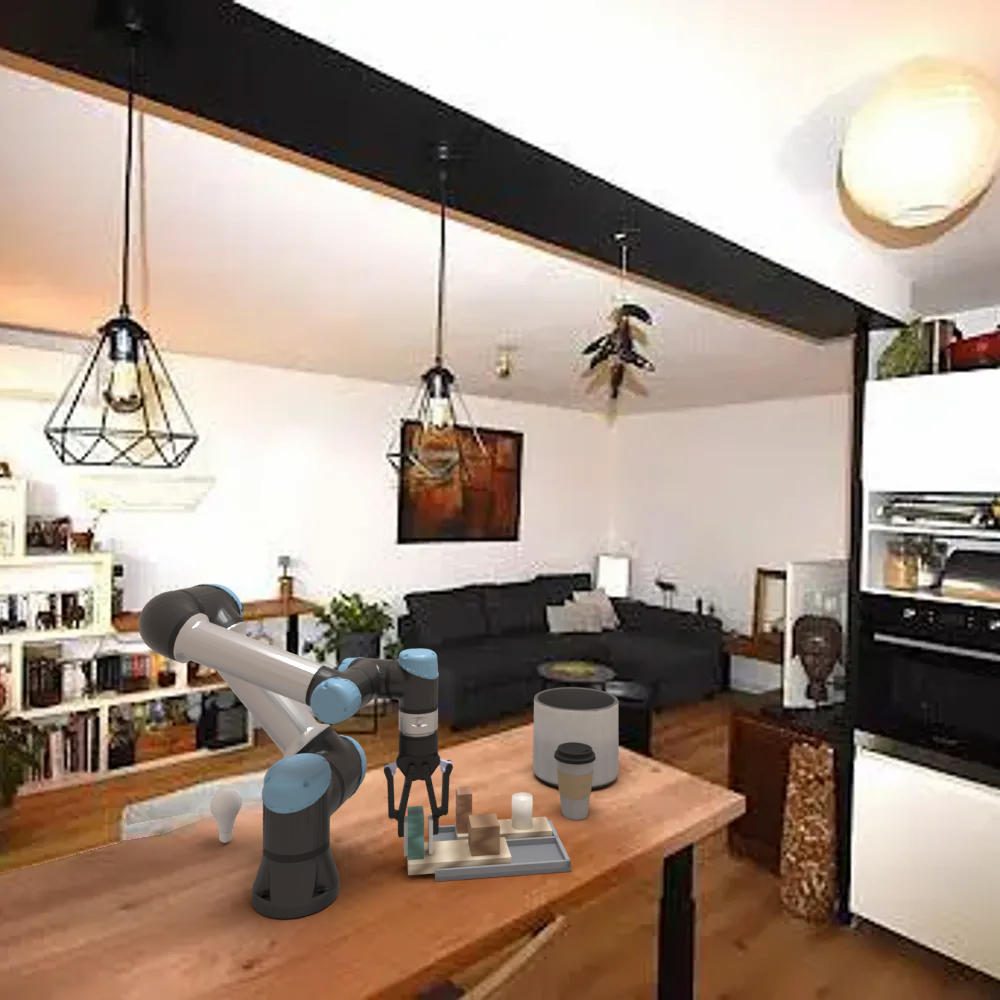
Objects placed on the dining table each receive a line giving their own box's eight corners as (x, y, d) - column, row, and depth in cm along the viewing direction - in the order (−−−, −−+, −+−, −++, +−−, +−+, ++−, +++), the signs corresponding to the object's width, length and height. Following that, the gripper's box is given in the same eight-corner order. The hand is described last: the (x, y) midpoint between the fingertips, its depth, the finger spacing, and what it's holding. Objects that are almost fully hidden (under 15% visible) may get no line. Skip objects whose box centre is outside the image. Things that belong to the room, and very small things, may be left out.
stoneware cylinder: (513, 830, 147) (513, 801, 147) (509, 821, 151) (510, 792, 151) (534, 829, 147) (534, 800, 147) (530, 819, 152) (530, 791, 152)
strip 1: (408, 875, 133) (408, 821, 133) (407, 853, 141) (407, 803, 141) (511, 867, 136) (511, 815, 136) (504, 846, 144) (504, 797, 144)
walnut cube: (471, 856, 136) (471, 827, 136) (468, 842, 142) (468, 815, 142) (499, 854, 137) (499, 826, 137) (495, 840, 142) (495, 813, 142)
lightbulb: (204, 842, 147) (204, 789, 147) (232, 832, 152) (233, 781, 152) (218, 852, 143) (218, 798, 143) (246, 842, 147) (247, 789, 147)
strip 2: (457, 846, 144) (458, 797, 144) (455, 831, 150) (455, 784, 150) (552, 840, 147) (552, 791, 147) (545, 826, 153) (546, 779, 153)
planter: (536, 757, 197) (537, 685, 197) (617, 762, 194) (618, 688, 193) (528, 790, 175) (529, 708, 175) (619, 795, 172) (620, 712, 172)
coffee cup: (593, 825, 156) (594, 757, 156) (551, 821, 158) (551, 753, 158) (596, 807, 165) (597, 742, 165) (556, 803, 167) (556, 739, 167)
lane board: (435, 881, 133) (435, 870, 133) (430, 835, 151) (430, 826, 151) (570, 871, 137) (570, 860, 137) (550, 828, 155) (550, 818, 154)
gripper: (372, 739, 132) (372, 865, 132) (464, 735, 135) (464, 858, 135) (373, 726, 140) (373, 845, 140) (460, 722, 142) (460, 839, 142)
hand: (418, 851), depth 137 cm, fingers closed on strip 1, 4 cm apart
